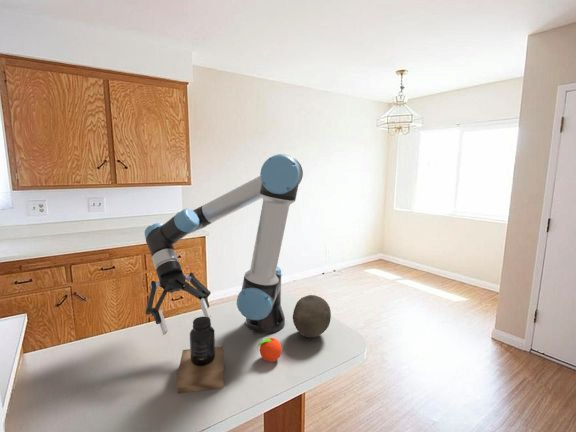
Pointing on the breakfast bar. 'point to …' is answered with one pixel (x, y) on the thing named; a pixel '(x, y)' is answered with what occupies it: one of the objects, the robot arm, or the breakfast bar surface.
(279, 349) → the clementine
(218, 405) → the breakfast bar surface
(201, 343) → the supplement bottle
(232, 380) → the breakfast bar surface
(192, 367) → the walnut block
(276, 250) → the robot arm
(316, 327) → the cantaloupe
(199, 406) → the breakfast bar surface
